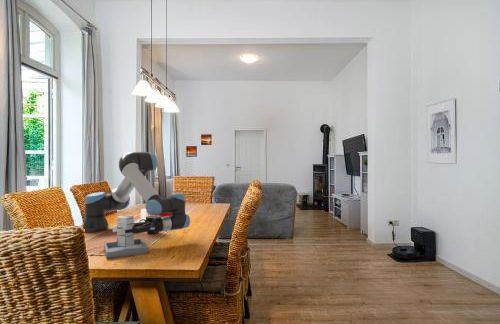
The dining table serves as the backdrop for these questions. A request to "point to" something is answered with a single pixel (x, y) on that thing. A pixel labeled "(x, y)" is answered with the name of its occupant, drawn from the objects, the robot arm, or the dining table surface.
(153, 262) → the dining table surface
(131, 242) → the syrup box
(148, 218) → the coffee mug
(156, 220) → the robot arm
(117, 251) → the tray
